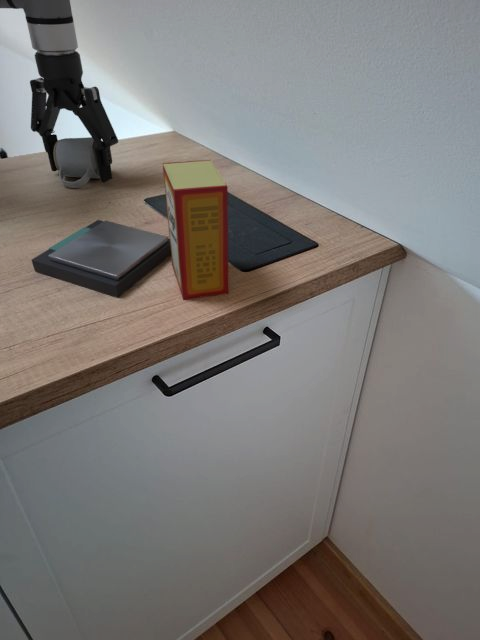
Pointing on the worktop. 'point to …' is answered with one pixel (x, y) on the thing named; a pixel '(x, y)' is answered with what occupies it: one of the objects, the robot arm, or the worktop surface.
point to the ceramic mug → (76, 160)
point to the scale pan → (109, 249)
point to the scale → (95, 280)
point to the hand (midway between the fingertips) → (82, 174)
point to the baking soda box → (197, 227)
